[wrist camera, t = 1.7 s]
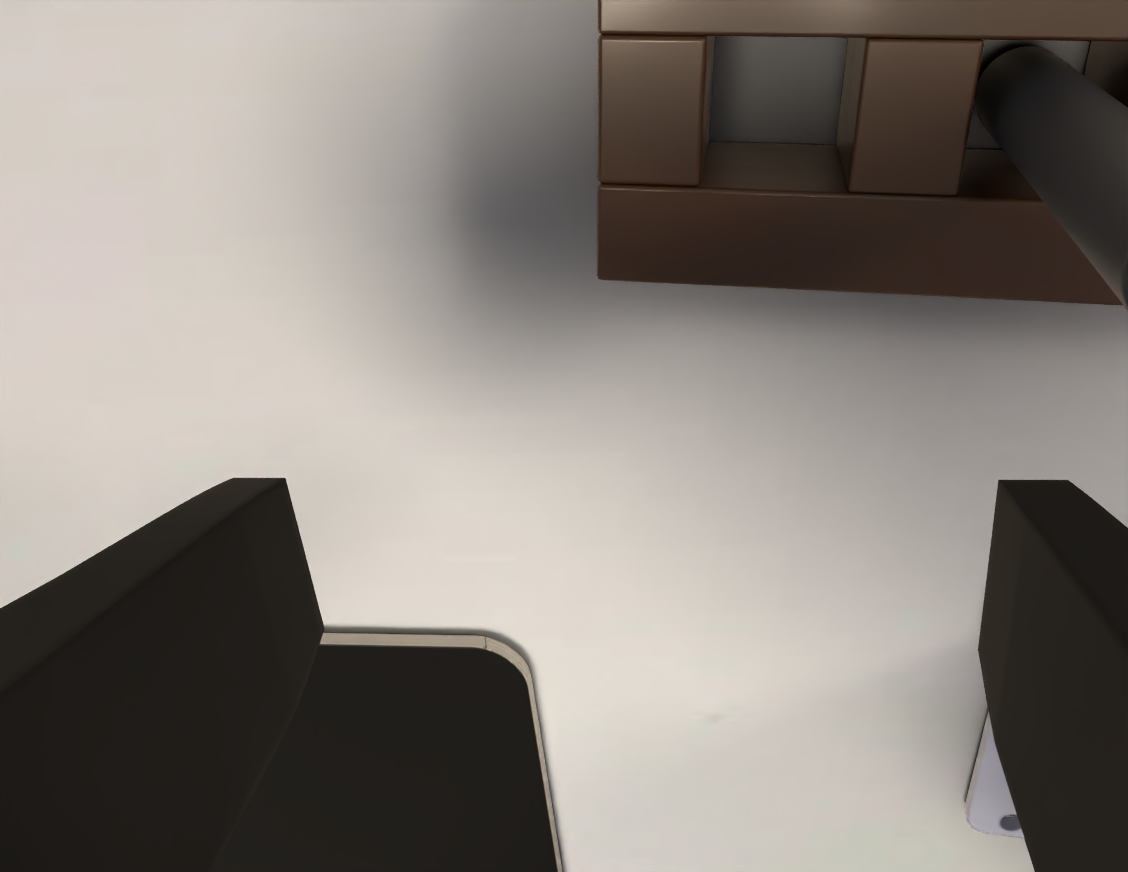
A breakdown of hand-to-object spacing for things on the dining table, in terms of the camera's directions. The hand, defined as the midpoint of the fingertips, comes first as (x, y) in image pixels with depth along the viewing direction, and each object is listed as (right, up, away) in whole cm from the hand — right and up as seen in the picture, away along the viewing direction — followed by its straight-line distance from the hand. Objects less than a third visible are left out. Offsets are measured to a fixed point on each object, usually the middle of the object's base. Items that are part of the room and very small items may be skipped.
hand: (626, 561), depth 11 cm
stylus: (+7, +7, +7) cm, 12 cm away
